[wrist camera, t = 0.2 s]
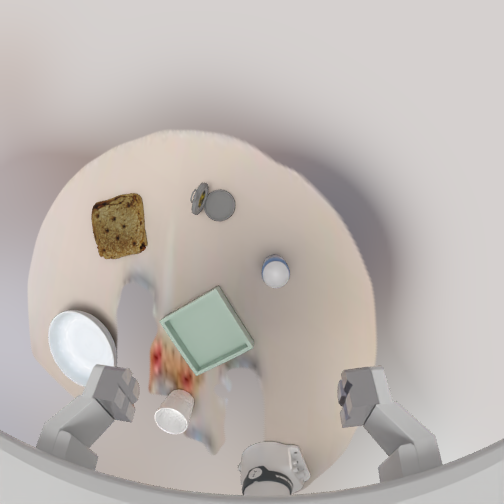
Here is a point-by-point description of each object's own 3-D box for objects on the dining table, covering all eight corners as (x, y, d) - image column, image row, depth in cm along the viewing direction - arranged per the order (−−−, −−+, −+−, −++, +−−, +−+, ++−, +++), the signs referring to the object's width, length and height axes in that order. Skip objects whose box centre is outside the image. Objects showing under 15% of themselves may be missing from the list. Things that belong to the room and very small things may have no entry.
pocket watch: (238, 216, 64) (233, 214, 54) (201, 226, 64) (189, 226, 54) (229, 179, 63) (222, 171, 53) (192, 190, 64) (178, 184, 54)
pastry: (128, 277, 66) (123, 279, 63) (80, 235, 66) (73, 235, 63) (167, 215, 65) (162, 215, 62) (114, 175, 65) (108, 173, 62)
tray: (254, 342, 65) (253, 348, 62) (199, 369, 67) (196, 375, 63) (218, 285, 65) (215, 288, 61) (164, 316, 66) (159, 321, 63)
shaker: (290, 270, 64) (295, 279, 52) (270, 282, 64) (270, 294, 52) (278, 250, 64) (281, 255, 52) (258, 262, 64) (256, 269, 52)
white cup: (179, 381, 67) (167, 402, 57) (203, 401, 68) (194, 424, 58) (161, 397, 68) (148, 418, 58) (184, 416, 68) (174, 439, 58)
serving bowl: (104, 390, 69) (93, 402, 62) (53, 338, 69) (39, 346, 62) (139, 345, 67) (128, 356, 60) (81, 287, 67) (66, 293, 60)
